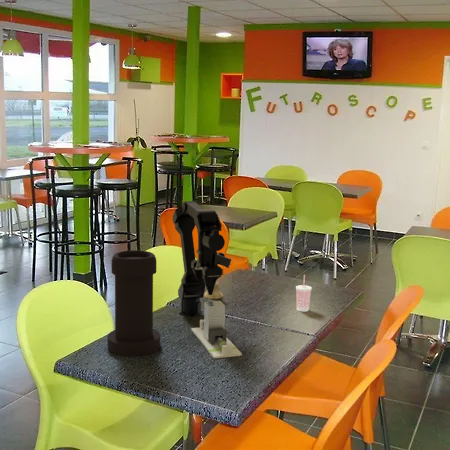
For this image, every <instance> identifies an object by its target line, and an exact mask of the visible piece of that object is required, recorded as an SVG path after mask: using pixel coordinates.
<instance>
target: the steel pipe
mask: <svg viewBox="0 0 450 450" xmlns="http://www.w3.org/2000/svg"><path fill="white" fill-rule="evenodd" d="M203 326H204V323H203ZM215 340H216V341H217V342H218V343H219V345H220V346H221V347H222V345H227V343H226V342H225V341H223V339H222V338H221V337H220V336H215Z"/></svg>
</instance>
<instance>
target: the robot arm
mask: <svg viewBox="0 0 450 450" xmlns="http://www.w3.org/2000/svg"><path fill="white" fill-rule="evenodd" d="M172 223H173V224H174V229H175V231H176V232H177V233H178V234H179V237H180V238H179V239H180V244H181V253H182V261H183V269H184V273H183V276H182V277H181V280H180V281H181V283H180V285H179V288H178V289H177V296H178V297H179V299H180V301H181V303H180V304H181V306H180V307H181V308H180V310H181V311H179V312H178V313H179V315H183V316H189V317H195V316H197V315H199V314H201V313H203V311H202V302H201V299H203V298H205V297H204V293H205V292H206V291H205V290H207V291H208V294H209V295H212V294H213V290H214V286H215V283H216V282H217V280H218V279H220V278H221V277H222V276H224V269H223V268H222V267H225V268H226V269H229V268H230V265H231V262H232V259H231V258H229V257H227V256H225V253H224V252H221V250H222V249H223V248H224V246H225V244H226V241H225V238H224V236H223V235H222V234H220V232H222V223H221V220H220V218H219V215H218V213H217V212H216V210H213V209H205V208H204V207H202V206H201V205H199V204H198V202H197V201H195V200H189V201H188V200H187V201H186V200H185V201H182V203H181V205H180V206H178V207H177V208H176V209H175V210H174V212H173V214H172ZM195 228H196V229H197V249H196V253H197V259H196V253H195V244H194V235H193V232H194V229H195ZM221 266H222V267H221Z"/></svg>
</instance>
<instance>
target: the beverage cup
mask: <svg viewBox="0 0 450 450" xmlns="http://www.w3.org/2000/svg"><path fill="white" fill-rule="evenodd" d="M305 280H306V274H303V284H302V285H301V284H300V285H296V286H295V290H296V294H295V295H296V311H298V312H308V311H309V309H310V304H311V303H310V302H311V294H312V289H313V287H312V286H309V285H307V284H306V285H305Z"/></svg>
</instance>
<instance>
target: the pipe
mask: <svg viewBox="0 0 450 450" xmlns="http://www.w3.org/2000/svg"><path fill="white" fill-rule="evenodd" d="M156 273H157V257H156V255H155V254H154V253H153V252H151V251H147V250H138V249H137V250H136V249H135V250H133V249H132V250H122V251H118V252H115V253H114V254H112V258H111V274H112V275H114V305H115V306H114V317H115V318H114V325H115V327H114V329H113V330H112V331H110V332H109V333H108V334H107V350H108V351H109V352H110V353H112V354H114V355H117V356H122V357H142V356H147V355H150V354H154V353H156V352H157V351H159V349H160V347H161V333H160V331H158V330H156V329H154V327H153V326H154V319H153V318H154V297H153V296H154V275H155V274H156Z"/></svg>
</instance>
